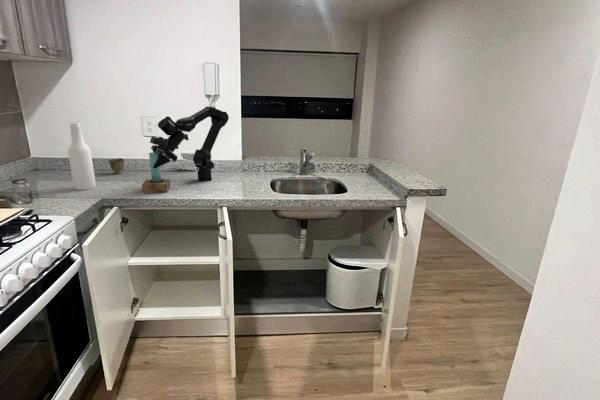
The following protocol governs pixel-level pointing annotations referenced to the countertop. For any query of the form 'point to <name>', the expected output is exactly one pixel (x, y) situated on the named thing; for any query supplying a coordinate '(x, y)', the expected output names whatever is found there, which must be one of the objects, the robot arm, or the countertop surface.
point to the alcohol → (80, 160)
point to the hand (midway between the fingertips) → (152, 167)
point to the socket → (156, 186)
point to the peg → (155, 171)
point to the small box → (187, 156)
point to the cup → (117, 165)
